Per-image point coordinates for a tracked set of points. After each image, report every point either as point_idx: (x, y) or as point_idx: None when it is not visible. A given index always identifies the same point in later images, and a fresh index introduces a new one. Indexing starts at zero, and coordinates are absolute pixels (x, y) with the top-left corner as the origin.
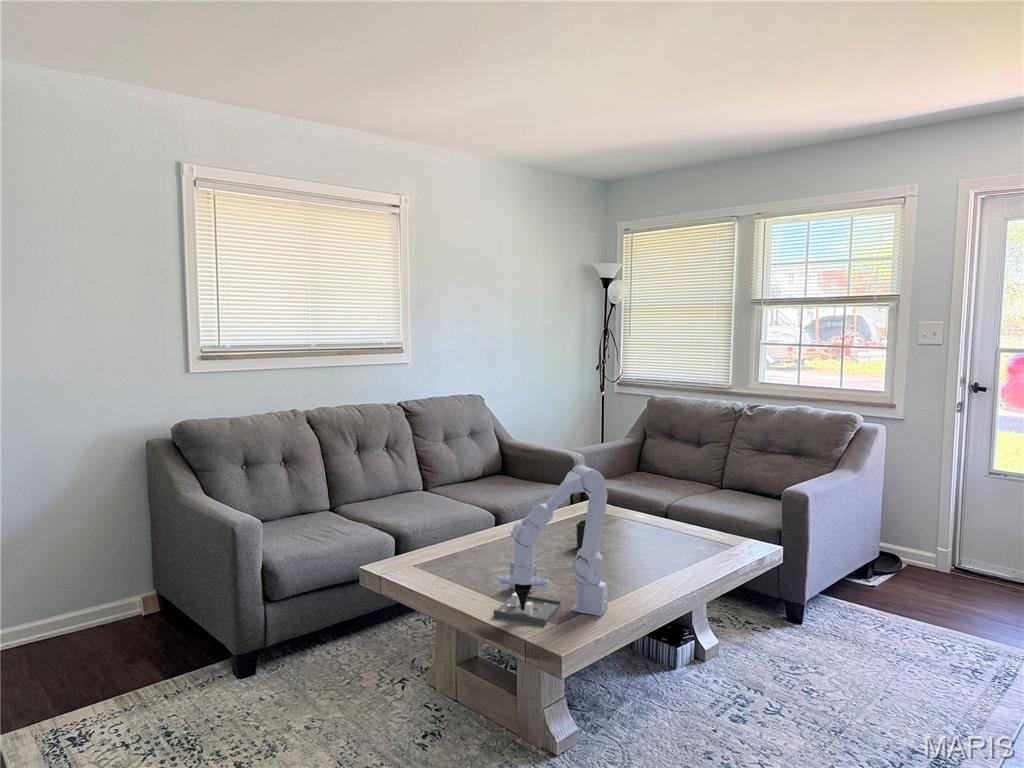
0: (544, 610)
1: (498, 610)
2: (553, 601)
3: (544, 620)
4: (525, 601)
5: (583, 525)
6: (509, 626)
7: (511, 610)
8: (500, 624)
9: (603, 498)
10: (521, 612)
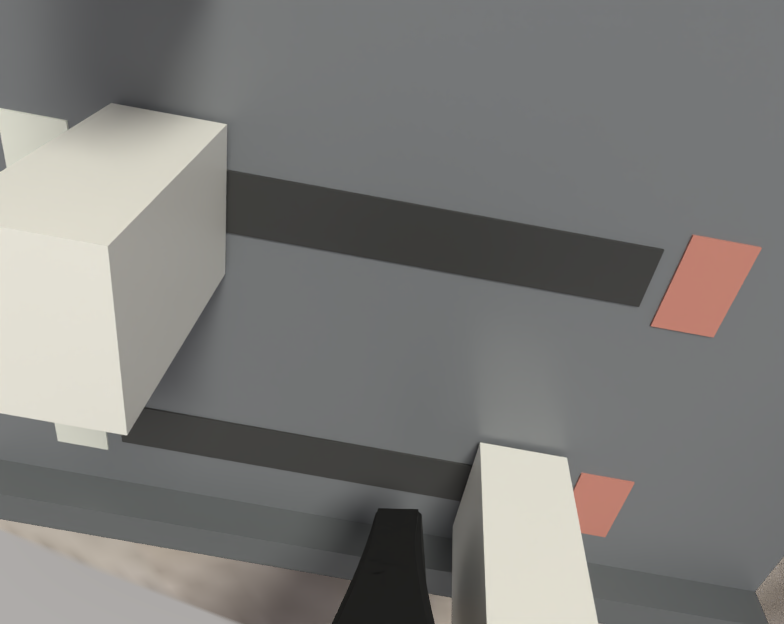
0: None
1: (37, 507)
2: None
3: None
4: (428, 616)
5: None
6: (310, 596)
7: (190, 382)
8: (202, 572)
9: None
10: (369, 416)
